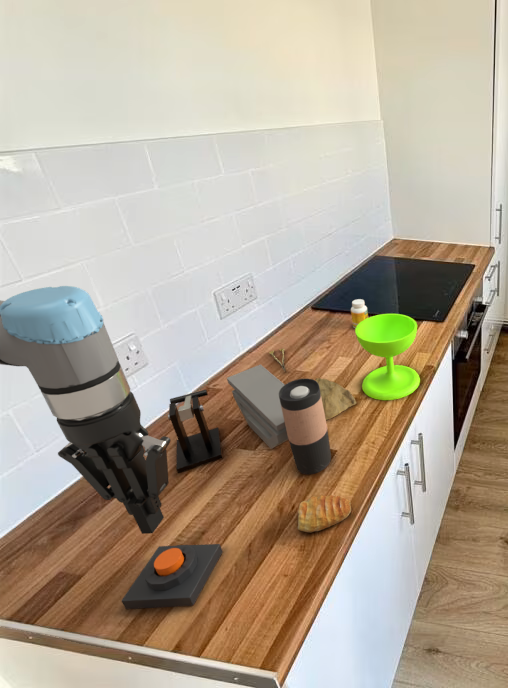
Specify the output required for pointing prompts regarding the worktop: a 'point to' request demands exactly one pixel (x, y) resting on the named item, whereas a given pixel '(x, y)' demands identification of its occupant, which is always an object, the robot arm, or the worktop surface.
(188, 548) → the button block
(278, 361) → the tongs
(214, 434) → the switch bracket
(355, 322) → the supplement bottle
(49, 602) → the worktop surface
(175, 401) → the switch lever
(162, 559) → the button
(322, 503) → the pastry
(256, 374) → the sharpening stone
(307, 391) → the travel mug
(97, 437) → the robot arm
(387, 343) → the wineglass
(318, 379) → the rock
